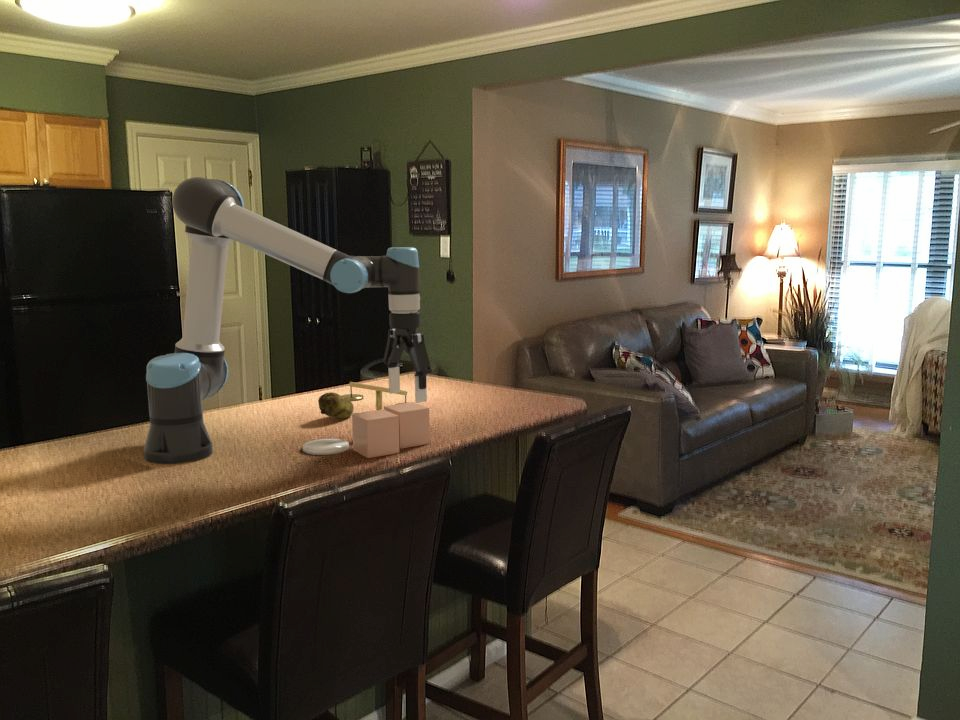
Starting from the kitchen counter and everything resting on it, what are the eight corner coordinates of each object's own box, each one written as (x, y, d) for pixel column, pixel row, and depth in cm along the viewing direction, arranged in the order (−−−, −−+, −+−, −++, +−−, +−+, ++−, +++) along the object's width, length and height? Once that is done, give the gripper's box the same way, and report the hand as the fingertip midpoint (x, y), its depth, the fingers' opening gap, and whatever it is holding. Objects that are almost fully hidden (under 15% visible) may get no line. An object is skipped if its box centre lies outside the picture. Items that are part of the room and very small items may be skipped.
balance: (346, 442, 200) (344, 385, 198) (336, 437, 205) (334, 381, 202) (421, 430, 212) (420, 376, 209) (410, 426, 217) (409, 373, 214)
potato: (365, 416, 228) (364, 389, 226) (329, 425, 218) (328, 396, 217) (346, 412, 233) (345, 385, 232) (310, 420, 223) (309, 392, 222)
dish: (313, 457, 187) (313, 453, 187) (295, 447, 196) (295, 443, 196) (356, 450, 193) (356, 446, 193) (337, 440, 202) (337, 436, 202)
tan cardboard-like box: (368, 458, 187) (367, 420, 185) (353, 450, 194) (352, 413, 192) (399, 452, 191) (398, 415, 190) (383, 445, 198) (382, 409, 196)
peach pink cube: (400, 448, 195) (399, 412, 193) (384, 441, 201) (384, 406, 200) (429, 443, 199) (429, 408, 198) (413, 436, 206) (412, 402, 204)
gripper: (444, 314, 187) (446, 403, 190) (394, 306, 207) (397, 387, 211) (416, 316, 183) (419, 408, 186) (368, 308, 203) (371, 391, 207)
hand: (407, 397), depth 198 cm, fingers open, 13 cm apart
